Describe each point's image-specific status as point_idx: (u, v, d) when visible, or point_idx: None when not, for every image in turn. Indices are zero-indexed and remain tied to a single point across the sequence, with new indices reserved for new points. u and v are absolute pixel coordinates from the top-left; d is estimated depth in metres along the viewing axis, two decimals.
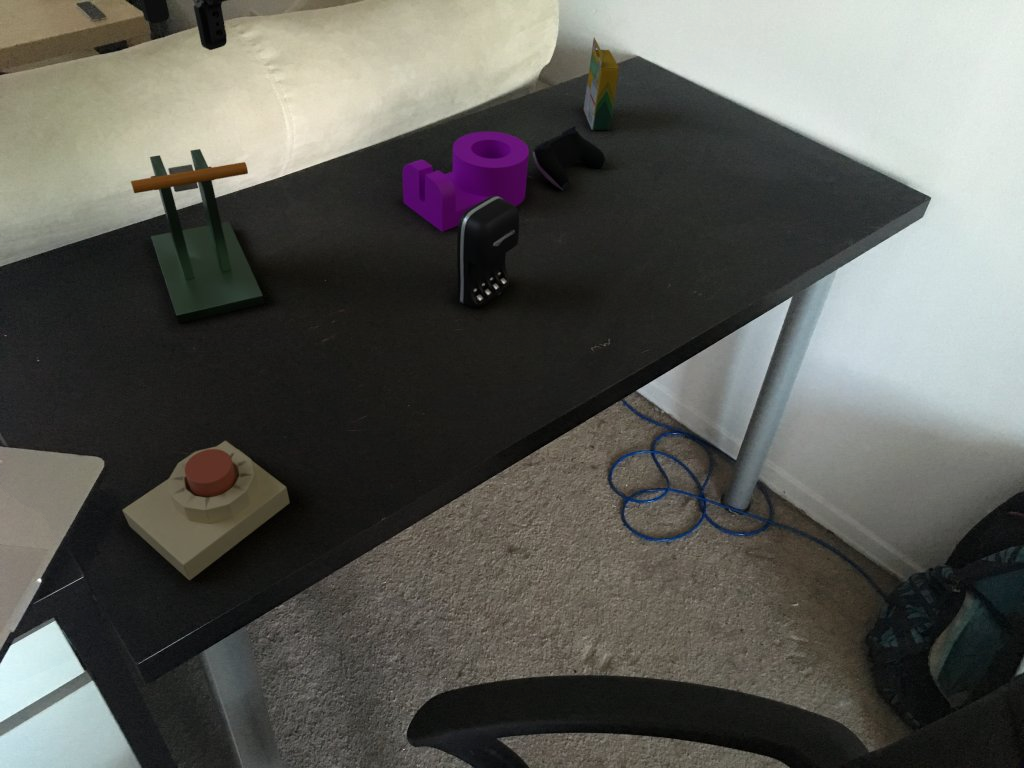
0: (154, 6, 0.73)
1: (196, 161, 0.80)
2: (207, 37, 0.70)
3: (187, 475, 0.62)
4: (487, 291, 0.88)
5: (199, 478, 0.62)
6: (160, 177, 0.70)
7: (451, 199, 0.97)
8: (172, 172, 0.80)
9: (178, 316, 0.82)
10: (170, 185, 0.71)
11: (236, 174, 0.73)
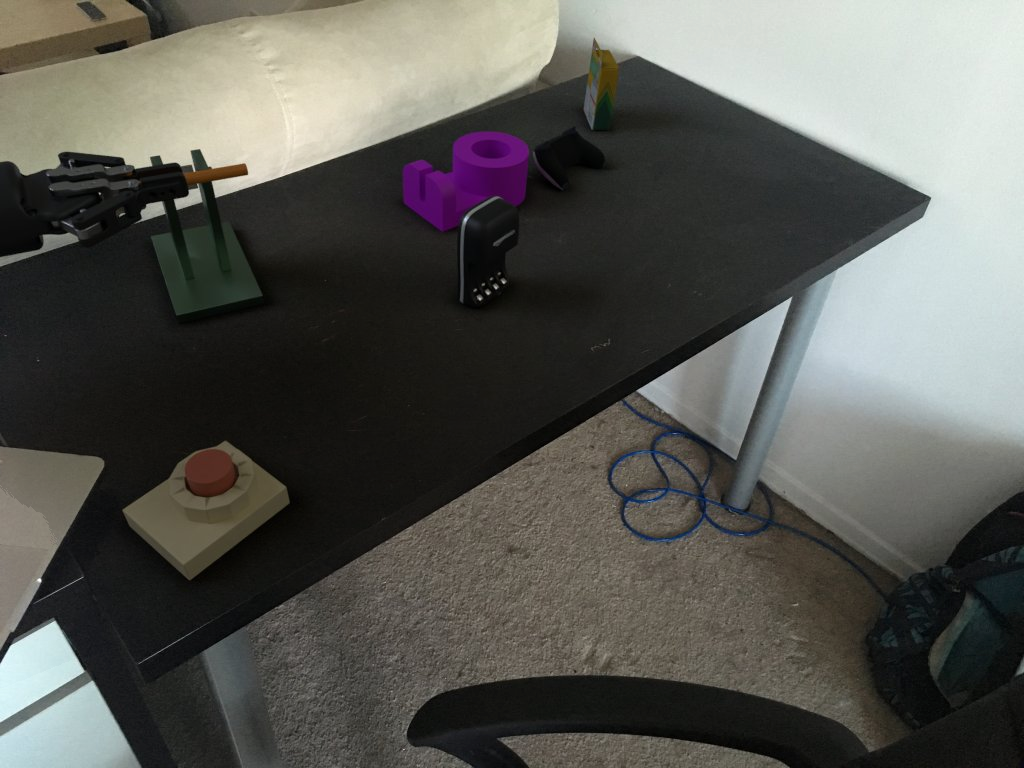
0: None
1: (196, 161, 0.80)
2: None
3: (187, 475, 0.62)
4: (487, 291, 0.88)
5: (199, 478, 0.62)
6: None
7: (451, 199, 0.97)
8: None
9: (178, 316, 0.82)
10: None
11: (236, 175, 0.73)
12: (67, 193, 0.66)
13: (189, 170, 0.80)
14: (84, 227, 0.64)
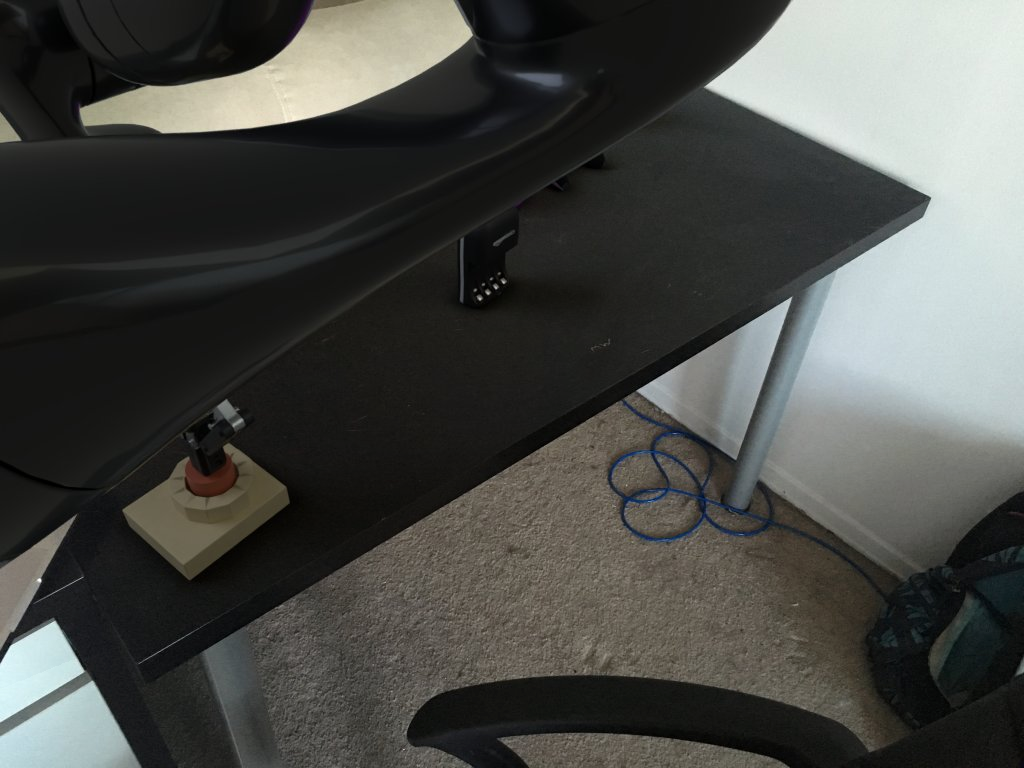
0: None
1: None
2: None
3: (187, 475, 0.62)
4: (487, 291, 0.88)
5: (199, 478, 0.62)
6: None
7: None
8: None
9: None
10: None
11: None
12: None
13: None
14: (247, 425, 0.55)
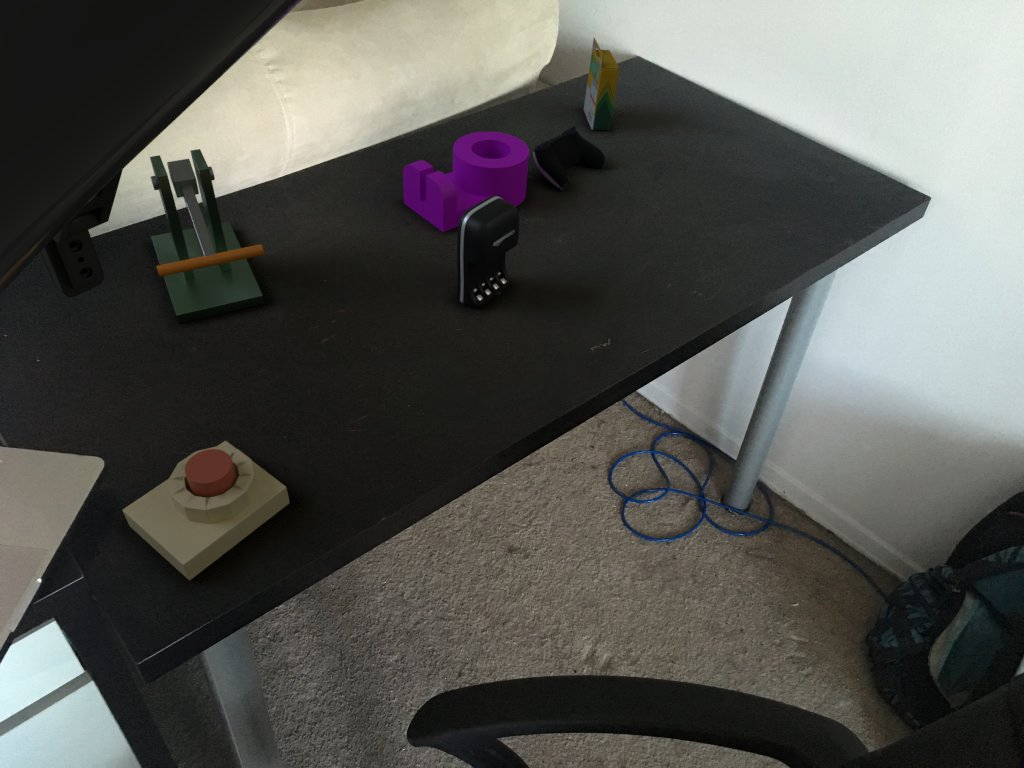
0: None
1: (196, 161, 0.80)
2: None
3: (187, 475, 0.62)
4: (487, 291, 0.88)
5: (199, 478, 0.62)
6: (184, 266, 0.76)
7: (452, 199, 0.97)
8: (176, 184, 0.80)
9: (178, 316, 0.82)
10: (192, 269, 0.77)
11: (253, 256, 0.79)
12: None
13: (192, 182, 0.81)
14: None
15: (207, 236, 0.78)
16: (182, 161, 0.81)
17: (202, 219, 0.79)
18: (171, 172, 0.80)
